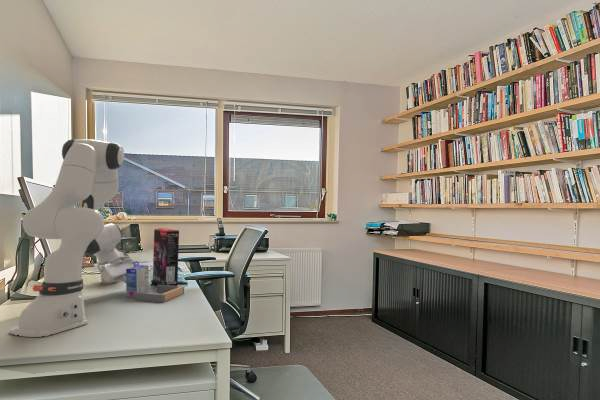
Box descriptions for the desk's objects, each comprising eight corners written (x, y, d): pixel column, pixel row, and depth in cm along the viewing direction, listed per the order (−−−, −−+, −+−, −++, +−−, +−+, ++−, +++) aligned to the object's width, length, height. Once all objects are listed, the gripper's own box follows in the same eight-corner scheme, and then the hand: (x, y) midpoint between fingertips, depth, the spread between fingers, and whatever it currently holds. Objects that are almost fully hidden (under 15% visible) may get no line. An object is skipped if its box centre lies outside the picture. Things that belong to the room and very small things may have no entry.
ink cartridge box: (138, 291, 185) (138, 259, 185) (149, 292, 184) (150, 260, 184) (125, 296, 175) (125, 262, 175) (136, 297, 174) (137, 263, 174)
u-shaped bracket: (162, 302, 167) (163, 295, 167) (135, 299, 170) (135, 292, 170) (184, 293, 184) (184, 286, 184) (158, 291, 187) (158, 284, 187)
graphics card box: (151, 282, 205) (152, 228, 205) (165, 281, 210) (166, 227, 210) (165, 288, 192) (166, 230, 192) (179, 286, 197) (180, 230, 197)
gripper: (100, 259, 172) (120, 284, 170) (131, 253, 192) (149, 275, 190) (90, 269, 173) (110, 294, 171) (122, 262, 193) (140, 284, 191)
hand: (131, 284), depth 180 cm, fingers closed
